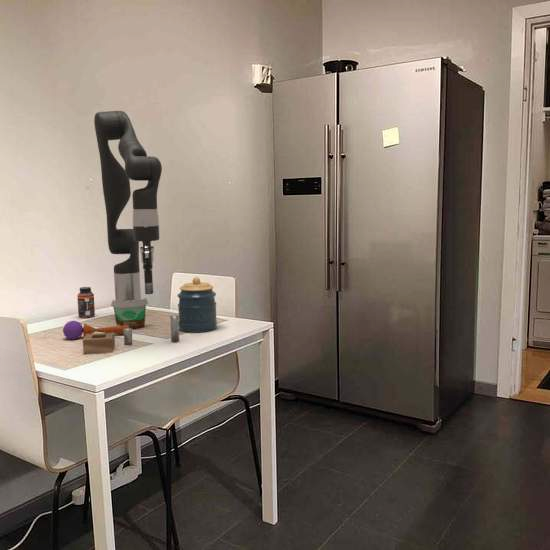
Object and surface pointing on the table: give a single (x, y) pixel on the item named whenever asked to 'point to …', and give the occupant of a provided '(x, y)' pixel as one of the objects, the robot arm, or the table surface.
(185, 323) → the canister
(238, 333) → the table surface
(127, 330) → the short pin
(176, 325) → the medium pin
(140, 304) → the food container
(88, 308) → the supplement bottle
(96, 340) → the hole block
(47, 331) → the table surface
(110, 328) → the kendama
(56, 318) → the table surface
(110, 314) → the table surface
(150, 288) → the long pin
